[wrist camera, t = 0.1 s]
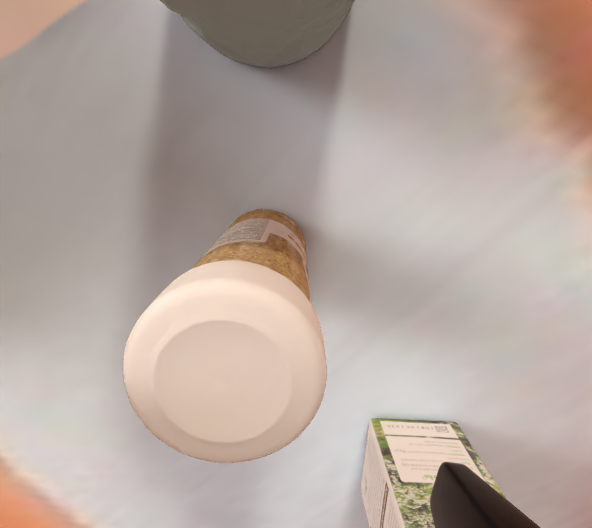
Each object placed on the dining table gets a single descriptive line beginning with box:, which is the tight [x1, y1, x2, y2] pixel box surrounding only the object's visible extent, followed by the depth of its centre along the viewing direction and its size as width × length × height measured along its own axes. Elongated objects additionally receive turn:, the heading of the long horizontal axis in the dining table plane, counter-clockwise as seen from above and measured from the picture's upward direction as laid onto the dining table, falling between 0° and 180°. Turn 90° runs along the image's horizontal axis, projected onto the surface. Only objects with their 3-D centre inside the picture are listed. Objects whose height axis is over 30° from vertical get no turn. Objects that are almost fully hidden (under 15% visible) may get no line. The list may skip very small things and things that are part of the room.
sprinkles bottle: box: [123, 209, 327, 463], centre depth 15 cm, size 5×5×14 cm
